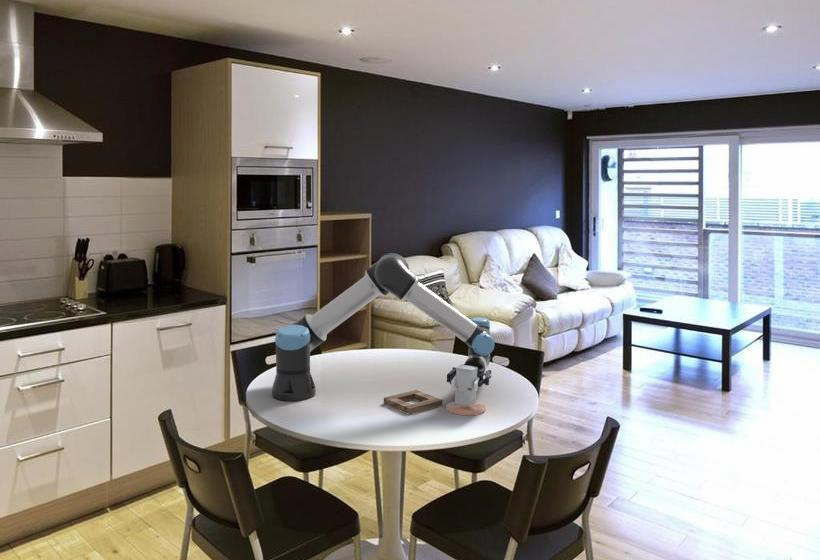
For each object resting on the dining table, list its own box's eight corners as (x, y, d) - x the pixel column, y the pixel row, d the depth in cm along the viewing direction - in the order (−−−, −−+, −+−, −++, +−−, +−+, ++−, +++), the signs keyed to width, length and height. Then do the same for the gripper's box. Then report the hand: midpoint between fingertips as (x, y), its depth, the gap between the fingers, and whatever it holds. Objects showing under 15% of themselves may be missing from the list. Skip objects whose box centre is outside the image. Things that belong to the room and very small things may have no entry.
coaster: (437, 407, 217) (437, 405, 217) (466, 399, 225) (466, 398, 225) (465, 418, 207) (465, 416, 207) (494, 409, 215) (494, 408, 215)
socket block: (383, 403, 221) (383, 397, 221) (415, 395, 230) (415, 389, 229) (409, 414, 210) (409, 408, 210) (442, 405, 219) (442, 399, 219)
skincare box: (454, 403, 215) (454, 367, 214) (460, 399, 219) (460, 364, 218) (471, 406, 212) (472, 369, 211) (477, 402, 216) (477, 366, 215)
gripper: (502, 380, 230) (494, 400, 208) (447, 375, 235) (433, 395, 213) (502, 359, 229) (494, 377, 207) (447, 355, 234) (433, 372, 212)
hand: (463, 386), depth 210 cm, fingers closed on skincare box, 7 cm apart
